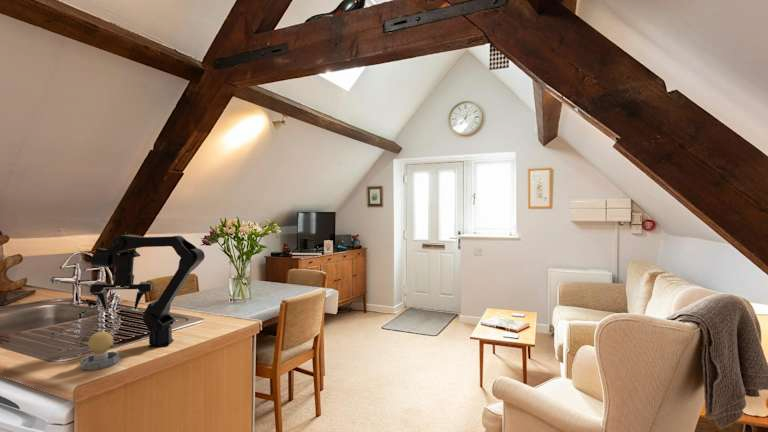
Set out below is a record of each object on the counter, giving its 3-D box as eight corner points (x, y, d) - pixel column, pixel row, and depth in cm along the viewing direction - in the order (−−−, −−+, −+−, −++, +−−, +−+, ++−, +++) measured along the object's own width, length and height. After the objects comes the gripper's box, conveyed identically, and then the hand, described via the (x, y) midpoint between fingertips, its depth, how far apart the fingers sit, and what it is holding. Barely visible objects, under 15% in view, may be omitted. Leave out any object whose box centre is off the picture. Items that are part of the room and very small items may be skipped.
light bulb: (114, 357, 128) (113, 328, 128) (111, 363, 122) (110, 333, 122) (90, 361, 125) (89, 331, 125) (86, 368, 119) (86, 336, 119)
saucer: (123, 357, 129) (123, 350, 129) (109, 368, 120) (109, 361, 120) (91, 360, 127) (91, 353, 127) (74, 371, 118) (74, 364, 118)
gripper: (155, 265, 153) (152, 304, 153) (99, 264, 145) (95, 305, 145) (151, 269, 143) (148, 311, 142) (90, 269, 135) (87, 313, 135)
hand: (120, 309), depth 141 cm, fingers open, 9 cm apart
